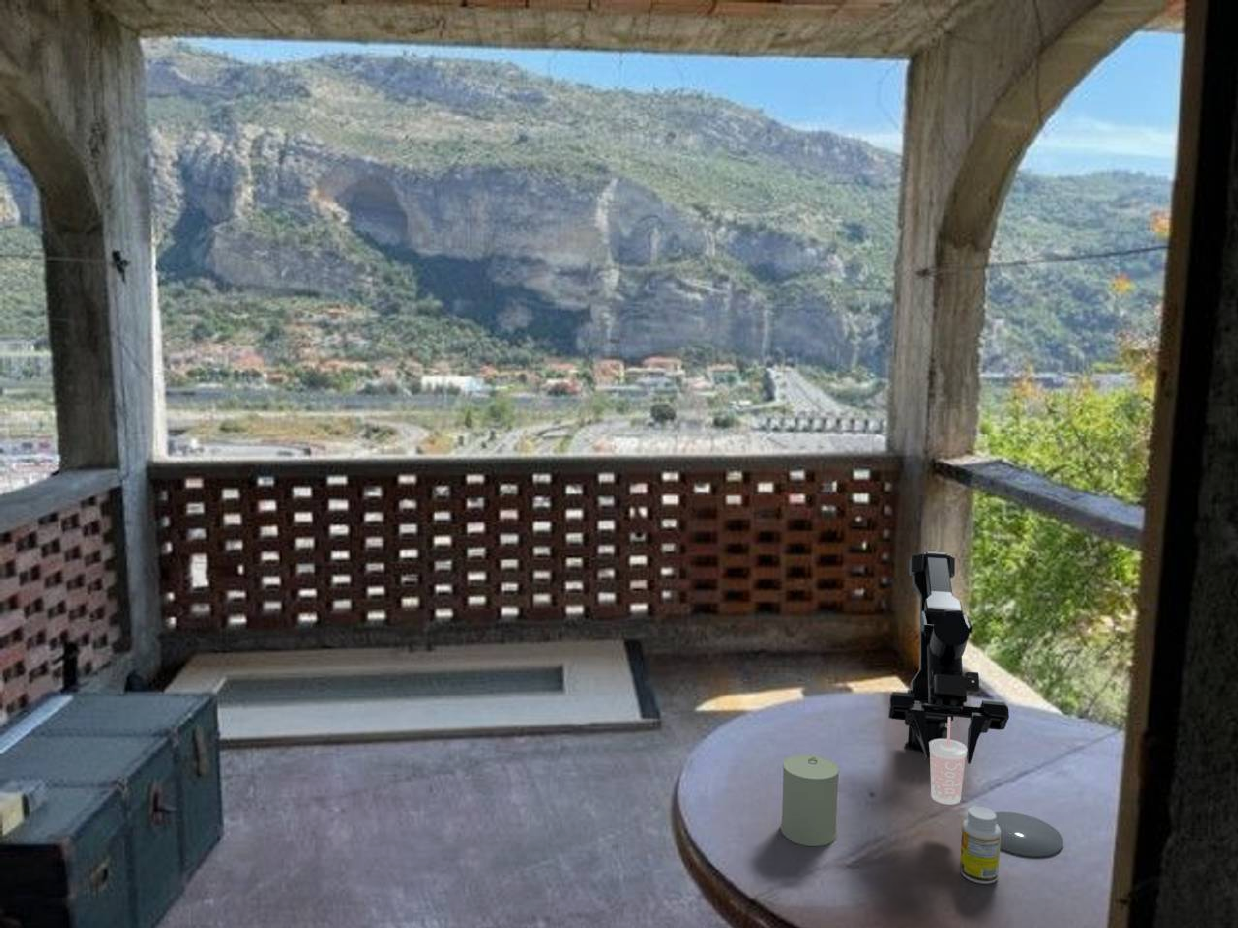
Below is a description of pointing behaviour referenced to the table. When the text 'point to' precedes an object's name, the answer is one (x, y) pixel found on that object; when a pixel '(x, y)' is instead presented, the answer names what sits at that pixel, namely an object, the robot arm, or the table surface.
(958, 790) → the beverage cup
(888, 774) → the table surface
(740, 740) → the table surface
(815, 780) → the can
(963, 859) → the supplement bottle
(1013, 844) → the coaster
